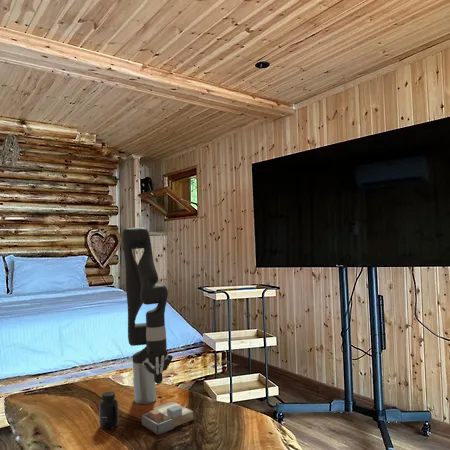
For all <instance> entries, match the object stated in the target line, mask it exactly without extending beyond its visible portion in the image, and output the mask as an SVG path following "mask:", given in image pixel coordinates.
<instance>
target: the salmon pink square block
mask: <svg viewBox="0 0 450 450" xmlns="http://www.w3.org/2000/svg"><path fill="white" fill-rule="evenodd" d="M148 413H149V416H150V419H151V420H152V421H154V422H156V423H157V424H159V423H161V412H159V411H157V410H153V409H152V410H150V411H149V412H148Z"/></svg>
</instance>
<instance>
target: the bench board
mask: <svg viewBox="0 0 450 450" xmlns="http://www.w3.org/2000/svg"><path fill="white" fill-rule="evenodd" d="M173 406H178V407H180V408H182V415H181V416H178V417H175V418H173V419H174V428H176V427H178V426H180V425H183V424H185V423H188V422H191V421H193V420H194V411H193V410H191V409H189V408H188V407H187V408H186V407H184V406H182V405H181V404H179V403H176V402H174V401H171V402H167V403H165V404H161V405H159V406H156V407H153V408H152V410H158V411H159V412H161V420H163V421H167V420H170V419H172V418H171V417H170V416H168V415H167V408H170V407H173Z"/></svg>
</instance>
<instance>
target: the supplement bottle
mask: <svg viewBox="0 0 450 450" xmlns="http://www.w3.org/2000/svg"><path fill="white" fill-rule="evenodd" d="M115 395H116V393H115V392H114V391H106V392H103V393H102V394H101V401H100V402H99V405H98V407H99V409H98V410H99V411H98V412H99V413H98V414H99V415H98V416H99V427H100V426H101V427H103V428H112V427H114V428H116V427H117V426H119V403H118V400H117V399H116V396H115ZM115 426H116V427H115ZM101 427H100V428H101ZM112 429H113V428H112Z"/></svg>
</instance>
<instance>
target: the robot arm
mask: <svg viewBox="0 0 450 450" xmlns="http://www.w3.org/2000/svg"><path fill="white" fill-rule="evenodd" d="M122 245H123V255H124V264H125V267H124V268H125V290H126V291H125V294H126V303H127V339H128V340H127V341H128V344H129V345H130V347H131V346H132V347H134V346H144V345H145V347H144V348H142V349H141V350H139V351H137V352H135V353H134V354H133V355H132V374H133V378H132V381H133V399H134V403H135V404H137V405H148V404H151V403H153V402H155V401H156V400H157V387H156V386H157V385H160V384H162V383H163V372H165V371H167V369H168V368H169V366H170V364H171V362H172V360H173V357H174V356H173V355H171V354H169V353H168V350H167V348H168V347H167V346H168V344H167V330H166V323H165V322H166V319H165V311H166V306H167V301H168V297H169V290H168V288H167V286H166V285H165V284H158V282H159V275H158V273H157V269H156V265H155V262H154V257H153V254H154V253H153V248H152V243H151V237H150V232H149V230H148V228H146V227H142V226H139V227H127V228H124V229H123V231H122ZM137 249H140V250H141V249H143V253H142V255H141V257H140V259H139V261H138V263H137V260H136V259H135V257H134V254H133V250H137ZM156 304H157V305H156ZM143 305H146V306H148V305H156V307H155V308H153V309H150V310H148V311H146V313H145V322H140V323H136V319H137V316H138V314H139V312H140V309H141V307H142V306H143ZM156 384H157V385H156Z"/></svg>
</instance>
